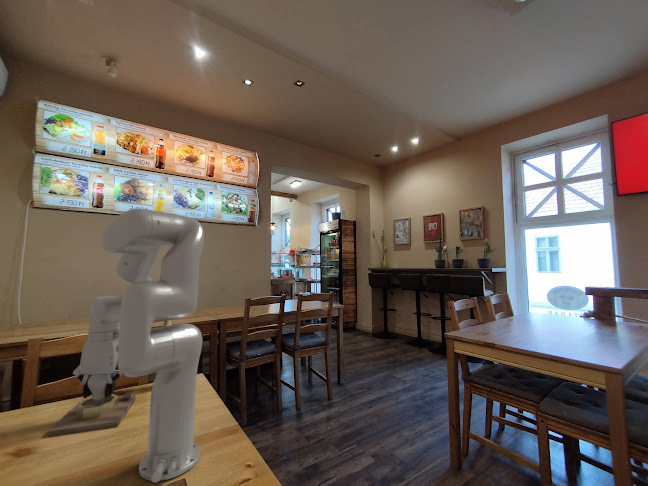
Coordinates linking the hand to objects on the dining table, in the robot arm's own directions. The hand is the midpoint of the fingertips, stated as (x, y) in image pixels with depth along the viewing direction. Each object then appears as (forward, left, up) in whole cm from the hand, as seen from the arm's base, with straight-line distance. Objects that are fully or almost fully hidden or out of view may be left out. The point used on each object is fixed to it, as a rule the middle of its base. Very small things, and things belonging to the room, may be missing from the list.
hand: (98, 395), depth 89 cm
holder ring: (0, 0, -5) cm, 5 cm away
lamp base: (0, 0, -6) cm, 6 cm away
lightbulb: (0, 0, -4) cm, 4 cm away
